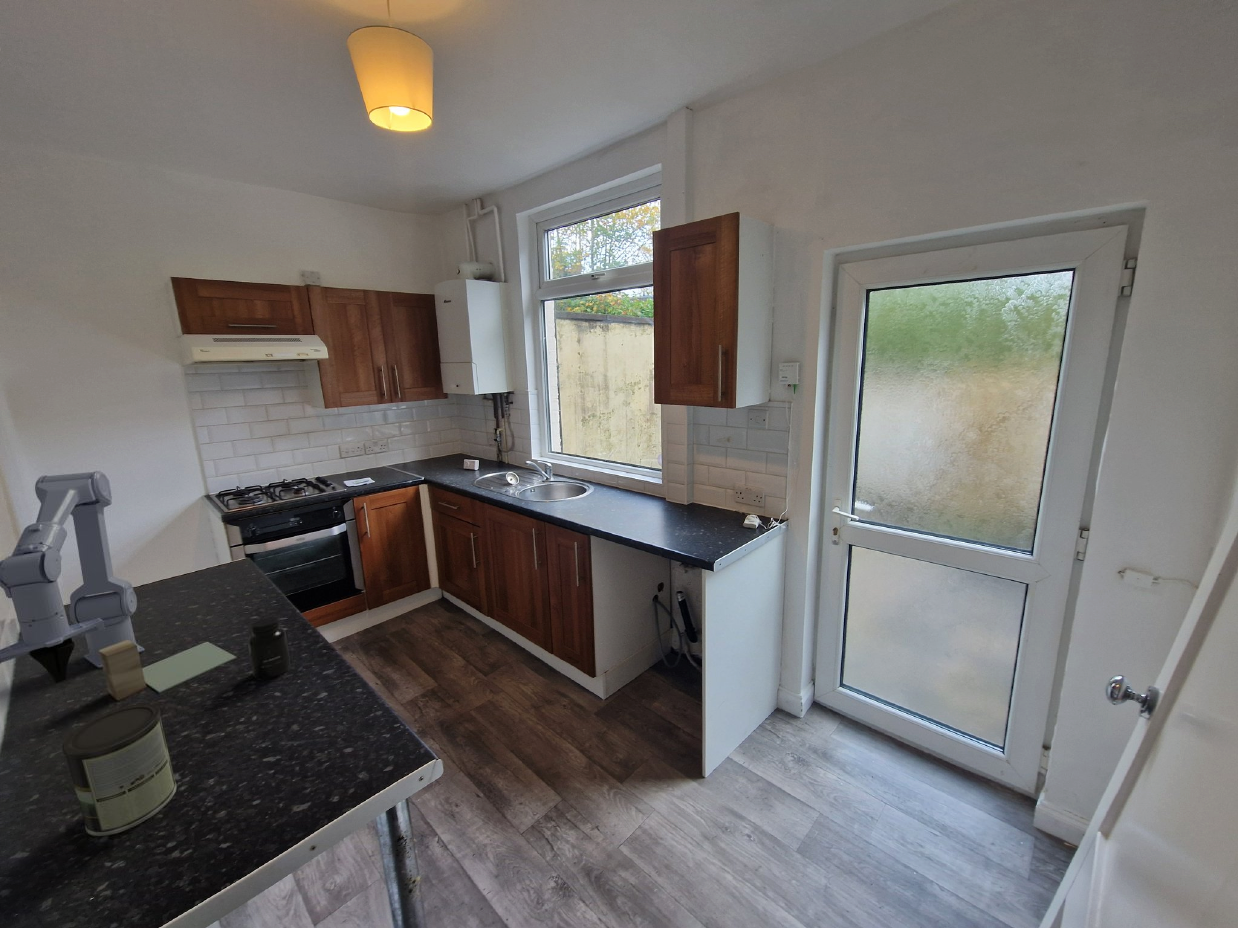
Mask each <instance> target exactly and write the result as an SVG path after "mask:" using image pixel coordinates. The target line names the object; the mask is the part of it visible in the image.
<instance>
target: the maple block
mask: <svg viewBox="0 0 1238 928" xmlns="http://www.w3.org/2000/svg"><path fill="white" fill-rule="evenodd" d="M136 644H137V643H136ZM136 644H134V643H132V642H131V641H129V640H126V641H123V642H120V643H117V644H115V645H112V646H109V647H106V648H104V649H101V650H99V654H100V658H101V662H102V666H103V667H102V670H103V674H104V678H105V681H106V682H105V683H106V685H107V690H108V693H109V695H110V696H111V697H113V698H114V699H115V700H116V701H120V700H122V699H125V698H127V697H130V696H132V695H133V694H136V693H138V692H141V691H143V690H145V689H147V684H146V683H145V679H144V674H143V670H142V668H143V666H142V662H141V659H140V653H138V649H137V645H136Z"/></svg>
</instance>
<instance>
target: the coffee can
mask: <svg viewBox="0 0 1238 928" xmlns="http://www.w3.org/2000/svg"><path fill="white" fill-rule="evenodd" d="M61 750H62V752H63V754H64V756H65V758H66V763H67V765H68V768H69V772H70V776H71V780H72V783H73V786H74V789H75V790H74V791H75V793H76V797H77V800H78V804H79V807H80V811H81V814H82V818H83V821H84V825H85V826H84V829H85V832H86V833H88V834H89V835H91V836H95V837H105V836H106V837H107V836H110V835H115V834H119V833H122V832H124V831H127V830H129V829H132V828H134V827H136V826H138V825H140V824H142V823H143V822H145V821H146V820H148V819H150V818H152V817H153V816H154V815H156V814H157V813H158V812H160V811H161V810H162V809H163V808H164V807H165V806H166V805H167V804H168V803H169V802H170V801H171V800H172V798H173V797H174V795H175V793H176V791H177V787H178V785H177V782H176V780H175V776H174V771H173V767H172V762H171V758H170V754H169V749H168V745H167V741H166V737H165V732H164V728H163V724H162V720H161V710H160V708H159V707H158V706H157V705H155V704H151V703H139V704H132V705H128V706H124V707H121V708H117V709H114V710H112V711H111V710H110V711H109V712H106V713H104V714H102V715H99V716H97V717H95V718H93V719H91V720H89V721H87V722H86V723H84V724H82V725H81V726H79V727H78V728H76V729H75V730H74V731H72V732H71V733H70V734H69V735H68V736H67V737H66V739H65V740H63V743H62V745H61Z"/></svg>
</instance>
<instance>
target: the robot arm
mask: <svg viewBox="0 0 1238 928" xmlns="http://www.w3.org/2000/svg"><path fill="white" fill-rule="evenodd" d="M110 485H111V483H110V480H109V479H108V477H107V475H106V474H105V473H103V472H102V471H100V470H95V471H90V472H89V471H88V472H80V473H78V472H77V473H67V474H66V473H65V474H57V475H55V474H54V475H47V474H46V475H41V476H39V477H38V478H37V480H36V481H35V485H34V491H35V496H36V498H37V499H38V500H39V503H40V507H39V510H38V514H37V518H36V521H35V523H34V522H33V523H32V524H29V525H27V526H26V527H25V528H24V529H23V531H22V533H21V535H20V538H19V539H18V541H17V543H16V545H15V548H14V550H13V551H12V553H11V555H9V556H7V557H5V558H4V559H2V560H0V588H1V589H3V591H4V594H5V596H6V597H7V599H11V601H12V603H13V607H14V611H15V615H16V618H17V621H18V624H19V625H18V626H19V629H20V633H21V635H22V639H23V640H20V641H18V642H15V643H13V644H10V645H8V646H6V647H3V648H1V649H0V665H2V663H5V662H8V661H10V660H13V659H16V658H20V657H22V656H25V655H29V656H30V657H31V658H32V659H33V660H35V661H37V662H38V663H39V664H40V665H41V666H42V667H43V668H44V669H45V670H46V671H47V673H48V674H49V676H50V678H51V680H52V681H53V682H54V683H55V684H58V683H61V682H63V681H66V680H67V671H68V665H69V661H70V658H71V655H72V654H73V651H74V649H75V645H76V644H75V642H74V641H73V639H75V638H78V637H82V636H84V635H85V639H86V643H87V648H88V651H89V653H87V654H84V655H83V656H84V659H86V660H87V661H89V662H90V663H91V664H93V665H94V666H95V667H97V668H100V669H101V668H103V666H102V662H101V658H100V654H99V650H101V649H104V648H106V647H109V646H112V645H115V644H117V643H120V642H123V641H126V640H129V641H131V642H132V643H134V644H136V645H137V649H138V653H139V654H140V653H142V652H144V651H145V648H144V647H143V646H141V645H139V644H138V643H137V641H136V638H135V634H134V628H133V626H132V621H131V616H133V614H134V613H135V612H136V610H137V607H138V601H137V599H138V598H137V595H136V593H135V590H134V587H133V584H132V583H131V581H128V580H125V579H122V578H119V577H116V576H115V575H114V570H113V564H112V557H111V552H110V545H109V539H108V532H107V527H106V520H105V508H108V507H109V506H111V505H112V503H113V502H112V500H113V498H112V497H113V496H112V491H111V486H110ZM70 515H71V516H72V520H73V526H74V532H75V540H76V544H77V551H78V557H79V565H80V569H81V576H82V581H83V584H82V585H80V586H79V587H77V588H76V589H75V590H74V591H73V592H72V593H71V594H70V596H69V601H70V602H69V603H70V605H69V609H68V611H69V619H70V621H71V622H72V623H73V624H71V625H69V622H68V617H67V613H66V609H65V606H64V601H63V597H62V593H61V590H60V587H59V583H58V579H59V578H60V576H61V572H62V560H63V559H62V558H63V557H62V555H61V550H62V549H63V545H64V543H65V541H66V538H67V536H68V532H67V530H66V528H65V527H64V525H65V523H66V522H67V520H68V519H69V516H70Z"/></svg>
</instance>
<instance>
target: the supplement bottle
mask: <svg viewBox="0 0 1238 928" xmlns="http://www.w3.org/2000/svg"><path fill="white" fill-rule="evenodd" d="M250 627H251V634H252V635H250V637H249V638H248V641H247V646H248V652H249V658H250V659H249V660H250V665H251V671H252V676H253V677H254V678H255V679H256V680H260V681H261V680H262V681H264V680H270V679H273V678H276V677H279V676H280V675H283V674H284V673H286V672H287V671H288V670H289V668H290V665H291V662H290V661H291V660H290V653H289V646H288V640H287V632H286V631H285V630H284V629H283V628H282V627H280V621H279V619H278V617H276V616H266V617H262V618H259V619H257V620H255V621H253V622H252V623H251V626H250Z"/></svg>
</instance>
